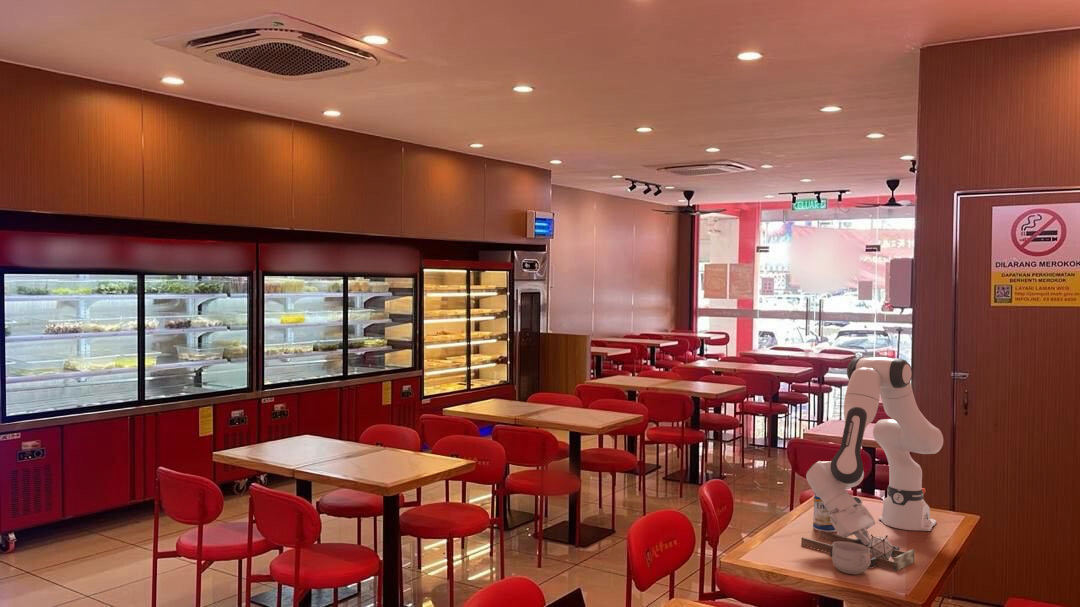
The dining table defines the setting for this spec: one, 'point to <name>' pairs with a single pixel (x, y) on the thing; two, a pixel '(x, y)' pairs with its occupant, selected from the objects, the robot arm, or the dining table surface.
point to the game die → (880, 547)
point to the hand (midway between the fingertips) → (869, 543)
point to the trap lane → (900, 557)
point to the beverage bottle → (821, 516)
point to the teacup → (850, 557)
